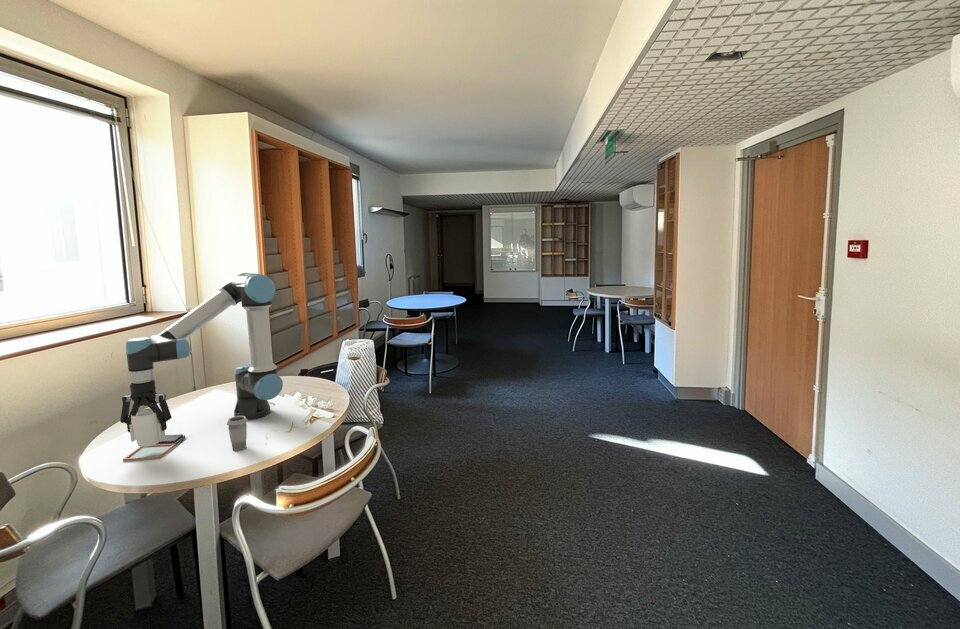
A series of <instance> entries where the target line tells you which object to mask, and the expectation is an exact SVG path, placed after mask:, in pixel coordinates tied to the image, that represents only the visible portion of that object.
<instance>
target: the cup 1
mask: <svg viewBox="0 0 960 629" xmlns="http://www.w3.org/2000/svg"><path fill="white" fill-rule="evenodd" d="M159 422H160V421H159V420H158V418H157V416H156V413H153V411H152V410H151V408H149V407H148V408H144V409H143V408H142V409H140V410H139V409H138V412H137V414H136V416H132V415H131V424H132V427H133V430H134V434H135V437H136V440H135V441H136V443H137V446H138V447H146V446H151V445H155V444H157V443H158V442H159V441H160V440H159V432H158V423H159Z"/></svg>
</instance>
